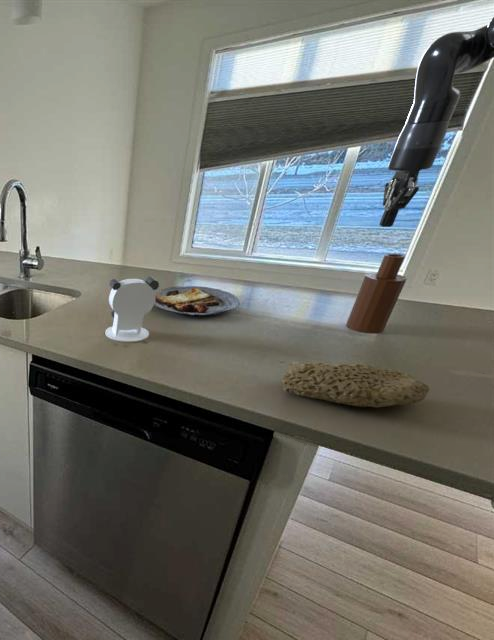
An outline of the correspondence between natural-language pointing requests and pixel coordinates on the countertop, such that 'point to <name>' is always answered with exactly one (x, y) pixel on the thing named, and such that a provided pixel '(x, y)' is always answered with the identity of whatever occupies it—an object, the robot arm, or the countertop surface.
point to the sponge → (354, 384)
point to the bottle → (377, 296)
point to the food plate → (195, 300)
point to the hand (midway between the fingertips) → (385, 226)
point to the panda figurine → (130, 308)
